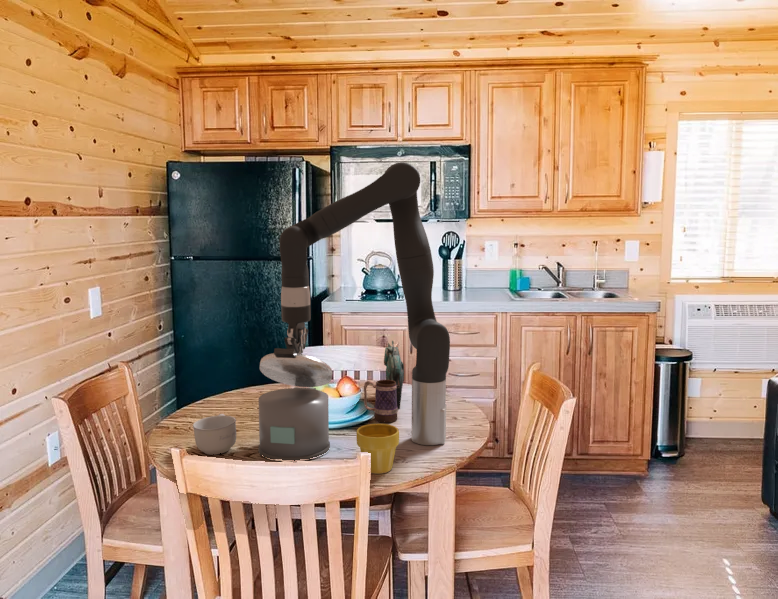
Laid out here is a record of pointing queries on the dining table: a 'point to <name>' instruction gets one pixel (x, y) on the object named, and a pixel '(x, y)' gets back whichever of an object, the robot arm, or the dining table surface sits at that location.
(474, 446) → the dining table surface
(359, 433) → the plant pot
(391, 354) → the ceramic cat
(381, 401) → the mug
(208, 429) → the teacup
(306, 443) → the cooker
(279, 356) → the cooker lid
